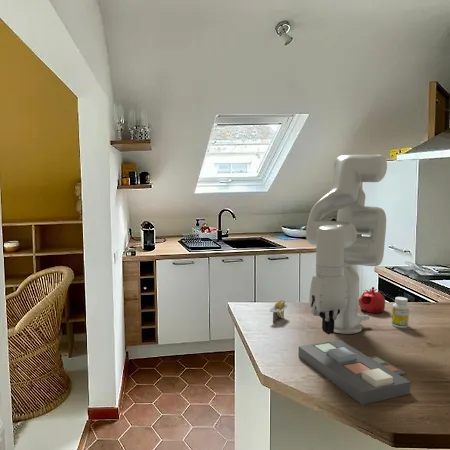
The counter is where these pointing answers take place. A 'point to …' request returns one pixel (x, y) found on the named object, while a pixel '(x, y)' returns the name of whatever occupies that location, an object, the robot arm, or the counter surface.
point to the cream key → (377, 377)
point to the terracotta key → (357, 368)
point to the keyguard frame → (350, 380)
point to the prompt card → (388, 365)
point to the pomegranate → (372, 301)
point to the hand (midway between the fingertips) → (328, 332)
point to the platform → (278, 310)
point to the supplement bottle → (400, 312)
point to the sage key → (324, 347)
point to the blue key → (341, 355)
